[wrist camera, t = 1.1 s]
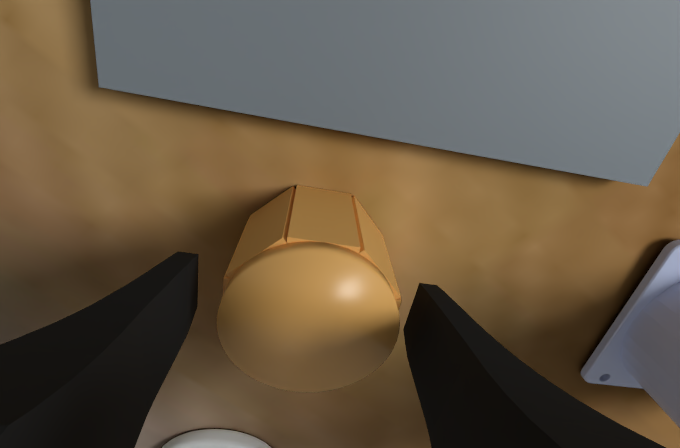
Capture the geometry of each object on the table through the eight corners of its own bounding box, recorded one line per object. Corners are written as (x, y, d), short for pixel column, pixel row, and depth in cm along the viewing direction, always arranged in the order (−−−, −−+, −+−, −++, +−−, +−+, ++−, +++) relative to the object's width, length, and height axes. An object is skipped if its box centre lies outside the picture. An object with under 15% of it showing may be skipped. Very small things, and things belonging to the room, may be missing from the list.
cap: (392, 200, 14) (421, 267, 10) (362, 308, 16) (376, 399, 12) (252, 177, 13) (220, 239, 9) (242, 293, 15) (213, 384, 11)
